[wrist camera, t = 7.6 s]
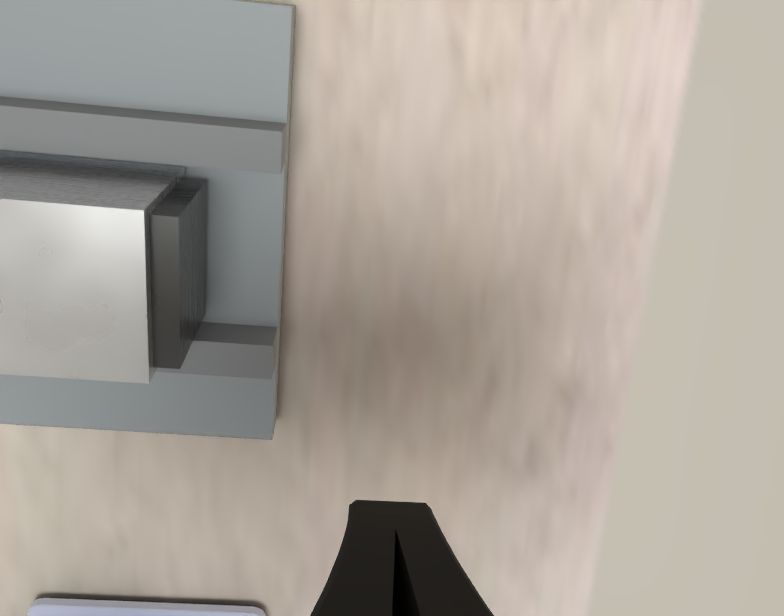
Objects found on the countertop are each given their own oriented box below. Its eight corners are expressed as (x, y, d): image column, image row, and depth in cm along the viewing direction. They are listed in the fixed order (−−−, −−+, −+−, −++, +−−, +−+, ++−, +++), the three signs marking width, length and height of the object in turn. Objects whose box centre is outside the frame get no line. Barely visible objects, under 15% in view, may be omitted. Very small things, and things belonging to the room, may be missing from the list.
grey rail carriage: (208, 313, 20) (176, 385, 17) (-5, 298, 20) (-86, 368, 16) (209, 168, 19) (173, 213, 15) (-22, 148, 18) (-116, 189, 15)
